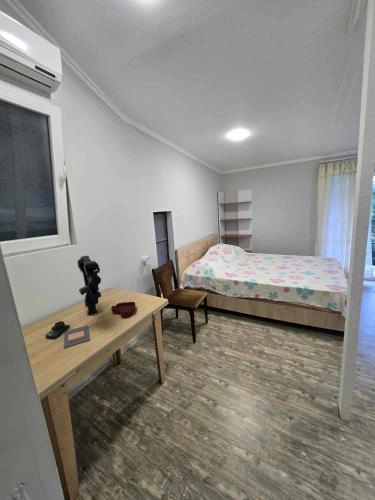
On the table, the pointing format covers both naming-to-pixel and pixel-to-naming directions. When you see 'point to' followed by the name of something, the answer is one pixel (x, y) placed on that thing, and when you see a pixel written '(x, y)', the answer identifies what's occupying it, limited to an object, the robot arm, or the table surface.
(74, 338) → the tile
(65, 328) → the film camera
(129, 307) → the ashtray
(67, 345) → the mat
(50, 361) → the table surface
